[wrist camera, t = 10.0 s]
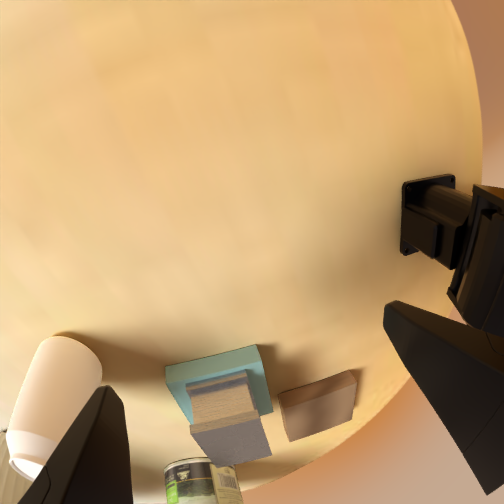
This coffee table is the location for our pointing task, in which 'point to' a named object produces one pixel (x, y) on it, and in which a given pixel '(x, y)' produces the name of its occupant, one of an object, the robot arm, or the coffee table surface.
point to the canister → (10, 477)
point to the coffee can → (201, 483)
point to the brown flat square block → (318, 405)
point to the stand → (216, 367)
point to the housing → (227, 420)
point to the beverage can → (50, 401)
